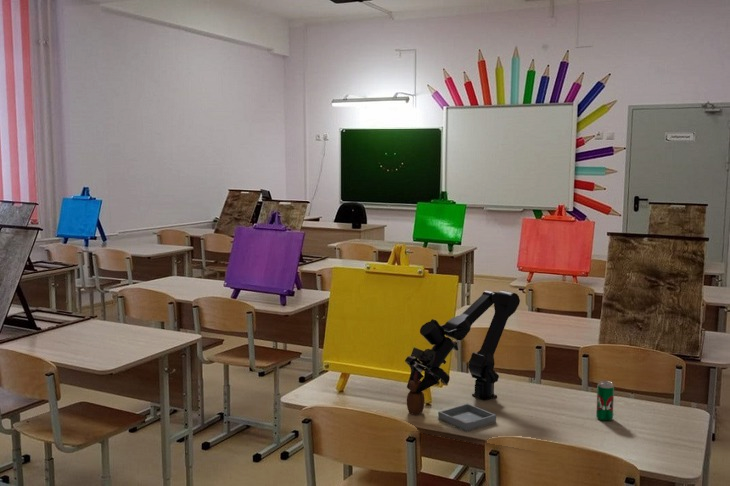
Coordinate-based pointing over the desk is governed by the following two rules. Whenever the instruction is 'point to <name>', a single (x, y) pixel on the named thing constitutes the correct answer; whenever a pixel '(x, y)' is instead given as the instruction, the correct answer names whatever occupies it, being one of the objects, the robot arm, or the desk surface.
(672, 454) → the desk surface
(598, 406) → the soda can
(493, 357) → the robot arm
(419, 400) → the wooden figurine
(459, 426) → the tray
